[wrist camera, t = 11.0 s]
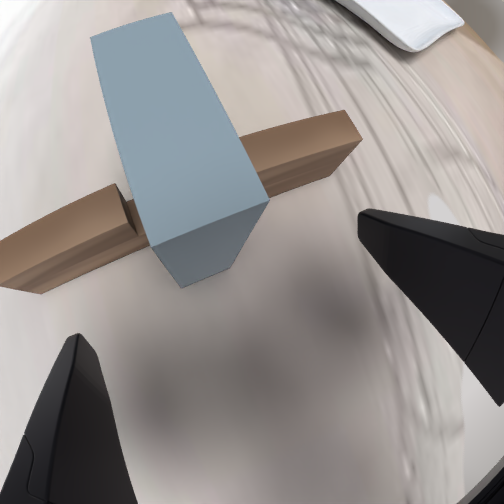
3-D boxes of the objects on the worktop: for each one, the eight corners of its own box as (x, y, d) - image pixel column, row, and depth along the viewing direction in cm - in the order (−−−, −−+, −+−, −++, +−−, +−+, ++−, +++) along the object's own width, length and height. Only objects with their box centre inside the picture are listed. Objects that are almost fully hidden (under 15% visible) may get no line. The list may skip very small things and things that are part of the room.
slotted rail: (329, 175, 20) (362, 139, 16) (41, 294, 16) (-4, 285, 11) (315, 150, 21) (344, 109, 16) (32, 264, 16) (-12, 247, 12)
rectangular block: (230, 267, 18) (269, 200, 8) (181, 288, 18) (151, 247, 7) (180, 151, 19) (171, 12, 9) (136, 168, 19) (90, 37, 8)
